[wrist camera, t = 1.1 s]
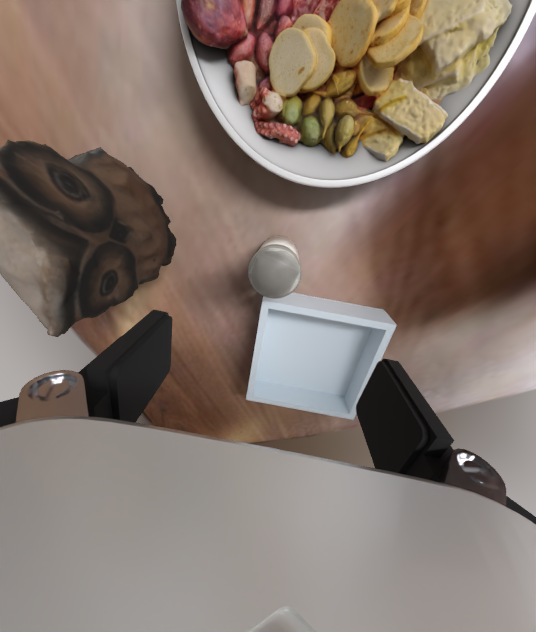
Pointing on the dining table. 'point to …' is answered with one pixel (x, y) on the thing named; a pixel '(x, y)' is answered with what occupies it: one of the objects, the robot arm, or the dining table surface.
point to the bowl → (347, 77)
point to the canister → (275, 268)
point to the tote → (316, 353)
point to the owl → (77, 232)
